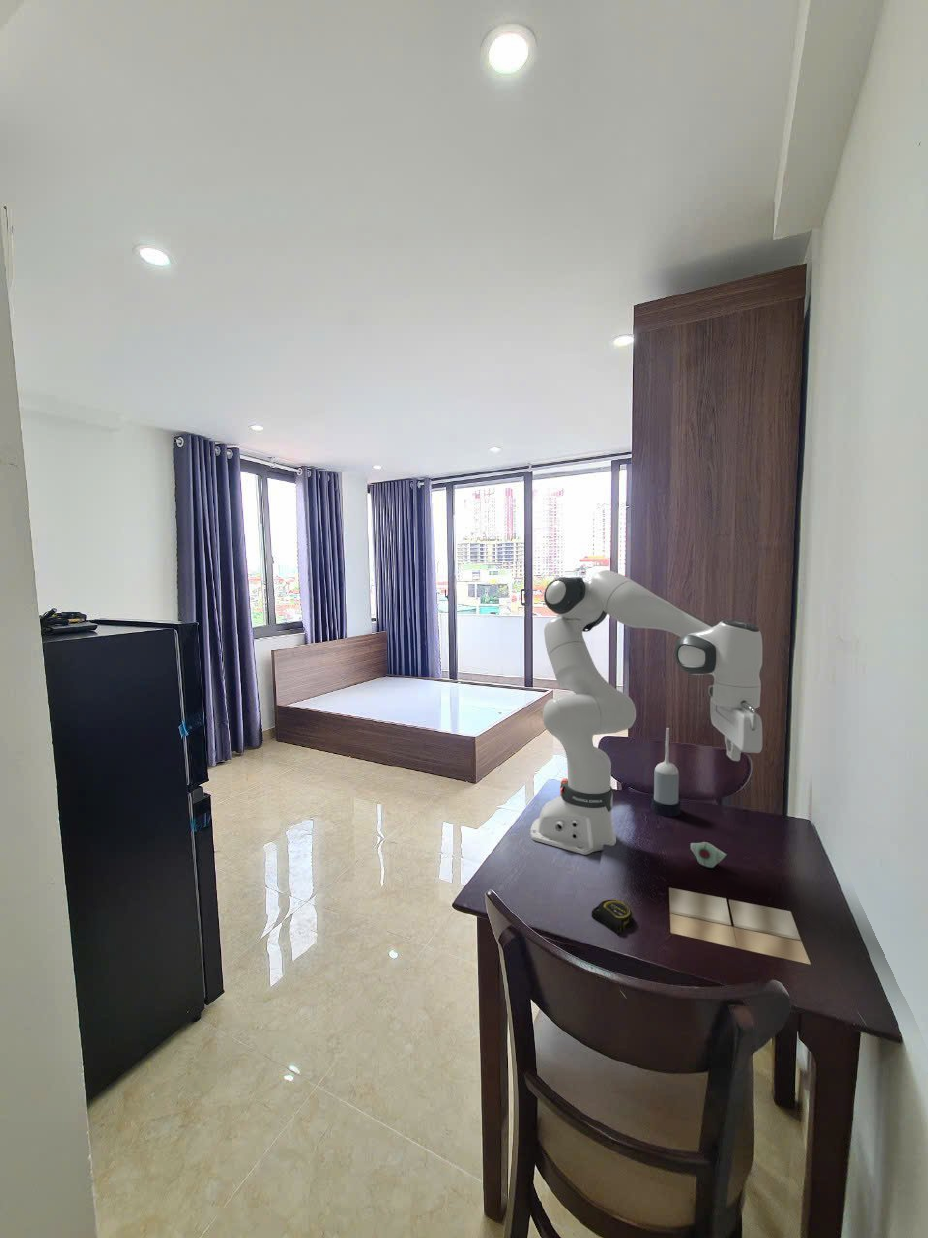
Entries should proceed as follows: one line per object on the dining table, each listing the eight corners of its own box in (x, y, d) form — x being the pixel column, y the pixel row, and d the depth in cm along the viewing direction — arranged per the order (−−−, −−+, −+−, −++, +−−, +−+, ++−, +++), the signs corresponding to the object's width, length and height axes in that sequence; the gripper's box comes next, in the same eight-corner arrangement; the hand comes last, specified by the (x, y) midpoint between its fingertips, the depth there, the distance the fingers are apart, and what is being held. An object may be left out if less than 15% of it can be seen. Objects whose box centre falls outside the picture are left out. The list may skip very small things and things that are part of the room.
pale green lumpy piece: (726, 872, 116) (727, 844, 116) (722, 880, 113) (723, 852, 113) (690, 860, 122) (691, 833, 121) (685, 867, 118) (686, 840, 118)
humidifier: (679, 806, 151) (681, 726, 150) (681, 818, 144) (683, 733, 142) (651, 803, 154) (652, 723, 153) (651, 814, 147) (652, 731, 145)
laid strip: (670, 940, 94) (670, 932, 94) (669, 920, 100) (669, 913, 100) (810, 973, 86) (811, 964, 86) (801, 949, 92) (801, 941, 92)
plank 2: (733, 933, 96) (734, 926, 96) (728, 906, 103) (728, 899, 103) (800, 948, 92) (801, 940, 92) (790, 918, 99) (790, 911, 99)
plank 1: (669, 919, 100) (669, 912, 100) (668, 893, 108) (668, 887, 107) (730, 932, 96) (731, 925, 96) (725, 905, 104) (726, 898, 103)
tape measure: (589, 924, 99) (589, 906, 99) (612, 911, 103) (612, 894, 103) (617, 944, 93) (617, 925, 93) (640, 930, 97) (640, 911, 97)
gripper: (773, 709, 96) (769, 778, 97) (734, 686, 116) (732, 744, 117) (738, 708, 97) (734, 776, 98) (706, 685, 117) (703, 742, 118)
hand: (733, 758), depth 108 cm, fingers closed
